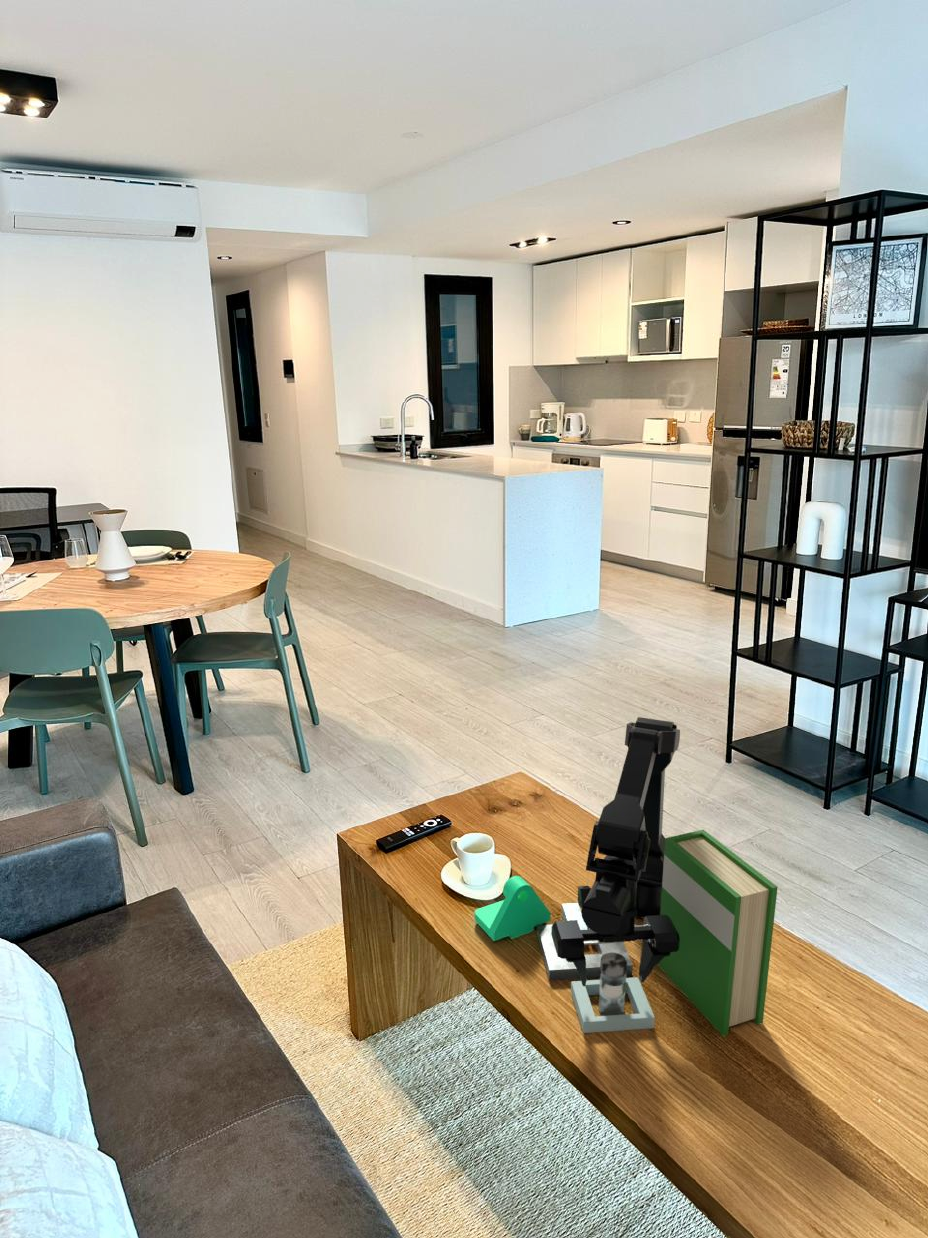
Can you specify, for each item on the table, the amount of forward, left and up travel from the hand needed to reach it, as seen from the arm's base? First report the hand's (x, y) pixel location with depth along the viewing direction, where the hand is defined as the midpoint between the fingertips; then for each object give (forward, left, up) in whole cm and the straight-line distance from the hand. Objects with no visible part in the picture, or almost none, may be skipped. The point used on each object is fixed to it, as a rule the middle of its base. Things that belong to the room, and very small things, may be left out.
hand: (612, 982), depth 131 cm
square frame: (0, 0, -5) cm, 5 cm away
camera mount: (+13, -23, -6) cm, 27 cm away
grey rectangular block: (+1, -21, -5) cm, 21 cm away
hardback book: (-17, -3, -5) cm, 18 cm away
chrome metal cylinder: (0, 0, -5) cm, 5 cm away
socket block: (+1, -14, -5) cm, 15 cm away
